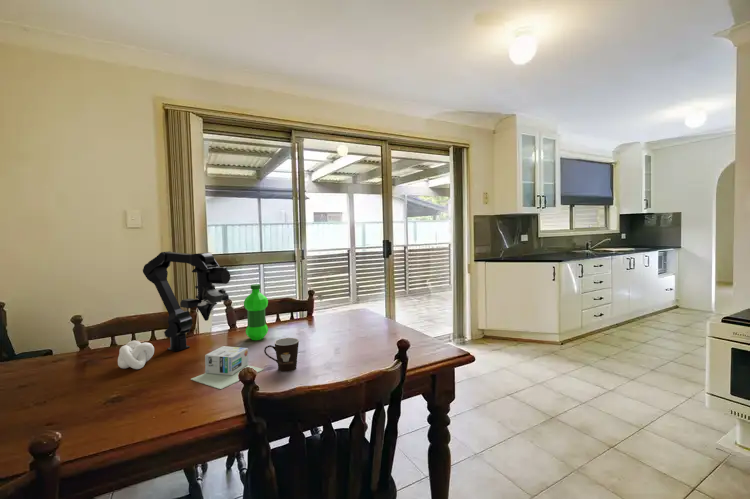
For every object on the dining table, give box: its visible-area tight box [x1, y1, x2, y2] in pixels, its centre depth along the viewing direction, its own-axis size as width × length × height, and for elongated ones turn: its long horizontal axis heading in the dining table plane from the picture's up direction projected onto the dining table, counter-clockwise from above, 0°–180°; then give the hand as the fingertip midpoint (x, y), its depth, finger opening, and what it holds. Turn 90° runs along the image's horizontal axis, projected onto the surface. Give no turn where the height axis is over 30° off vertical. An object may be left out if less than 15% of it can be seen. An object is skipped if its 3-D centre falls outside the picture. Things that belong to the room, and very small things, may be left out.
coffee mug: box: [263, 337, 300, 373], centre depth 134 cm, size 12×9×10 cm
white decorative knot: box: [117, 339, 155, 370], centre depth 137 cm, size 11×12×9 cm
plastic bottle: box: [243, 283, 269, 341], centre depth 169 cm, size 10×10×25 cm
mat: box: [190, 364, 265, 390], centre depth 129 cm, size 16×18×1 cm
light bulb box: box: [204, 345, 249, 375], centre depth 133 cm, size 11×7×11 cm
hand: (206, 320), depth 152 cm, fingers closed
